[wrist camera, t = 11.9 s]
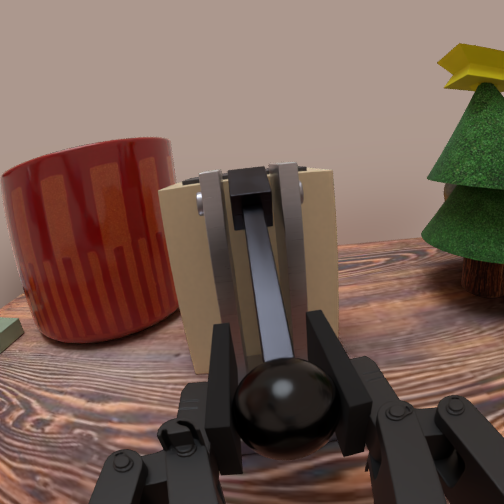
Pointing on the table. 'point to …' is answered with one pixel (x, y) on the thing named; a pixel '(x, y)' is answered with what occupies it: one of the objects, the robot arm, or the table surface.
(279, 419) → the toaster lever
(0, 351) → the control block
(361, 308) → the table surface
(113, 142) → the planter
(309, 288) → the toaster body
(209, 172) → the metal lever stand
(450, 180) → the decorative tree
